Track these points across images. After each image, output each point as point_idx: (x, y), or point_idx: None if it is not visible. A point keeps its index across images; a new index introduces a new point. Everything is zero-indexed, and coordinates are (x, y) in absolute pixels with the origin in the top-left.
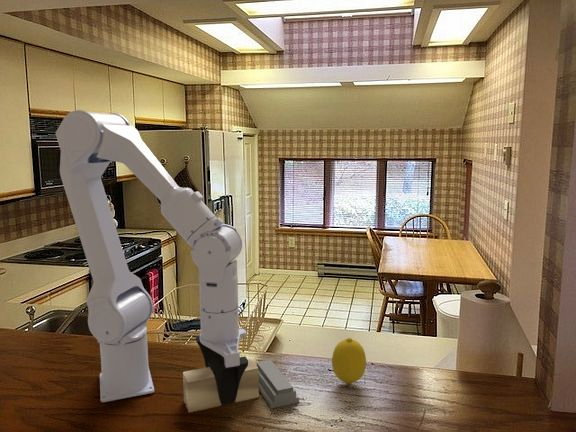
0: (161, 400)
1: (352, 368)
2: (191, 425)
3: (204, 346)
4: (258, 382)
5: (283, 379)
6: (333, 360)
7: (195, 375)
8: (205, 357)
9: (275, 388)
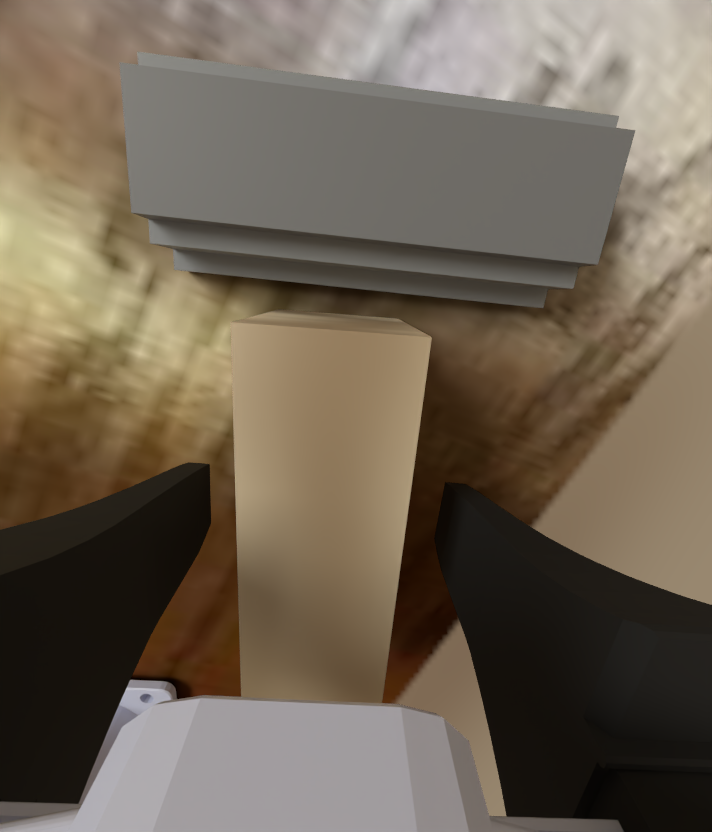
0: (236, 664)
1: None
2: (449, 617)
3: (73, 770)
4: (408, 325)
5: (493, 140)
6: None
7: None
8: (135, 659)
9: (552, 259)
